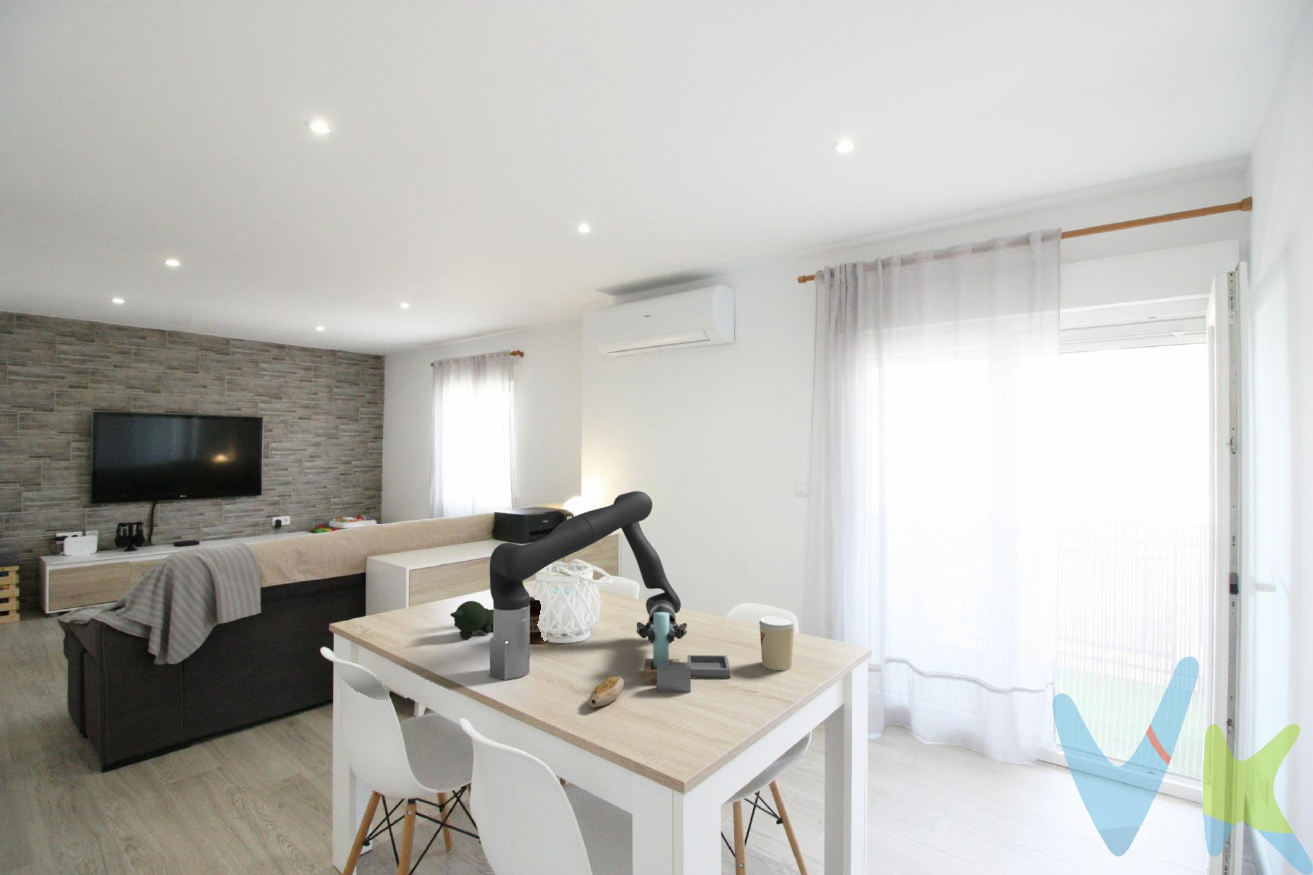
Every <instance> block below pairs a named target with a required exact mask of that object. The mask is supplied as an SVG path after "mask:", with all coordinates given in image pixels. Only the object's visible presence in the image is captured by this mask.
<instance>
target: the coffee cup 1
mask: <svg viewBox="0 0 1313 875" xmlns="http://www.w3.org/2000/svg"><path fill="white" fill-rule="evenodd" d="M533 597H534V596H530V644H543V643H545V642H544V640H543V638H542V637H541V632H540V630H539V628H538V626H537V624H538V621H539V615H540V610H541V604H540V601H539V600H535V599H534V598H533Z"/></svg>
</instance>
